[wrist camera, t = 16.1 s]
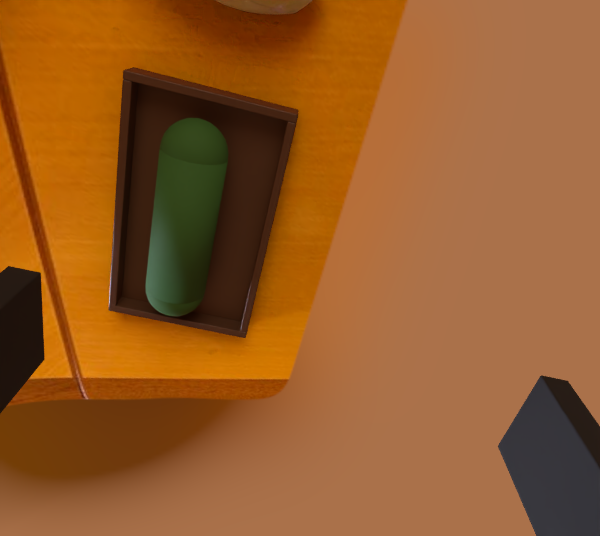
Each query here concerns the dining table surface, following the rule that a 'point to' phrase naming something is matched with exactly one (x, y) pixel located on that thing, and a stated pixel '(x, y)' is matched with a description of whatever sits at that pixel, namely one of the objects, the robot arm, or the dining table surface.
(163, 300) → the cucumber
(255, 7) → the fruit
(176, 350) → the dining table surface
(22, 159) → the dining table surface
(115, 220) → the tray
